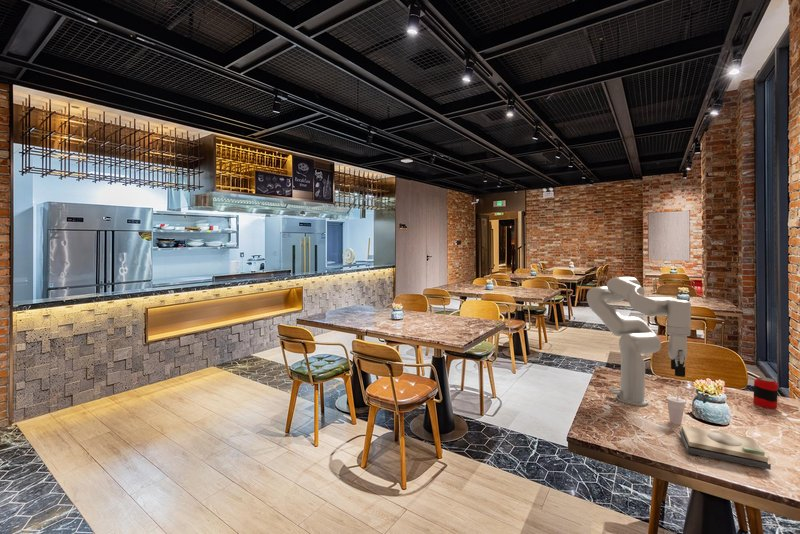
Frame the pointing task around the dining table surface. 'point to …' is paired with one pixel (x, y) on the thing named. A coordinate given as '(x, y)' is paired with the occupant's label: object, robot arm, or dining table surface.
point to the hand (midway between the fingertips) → (677, 372)
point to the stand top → (724, 443)
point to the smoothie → (676, 408)
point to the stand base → (723, 455)
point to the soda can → (765, 393)
